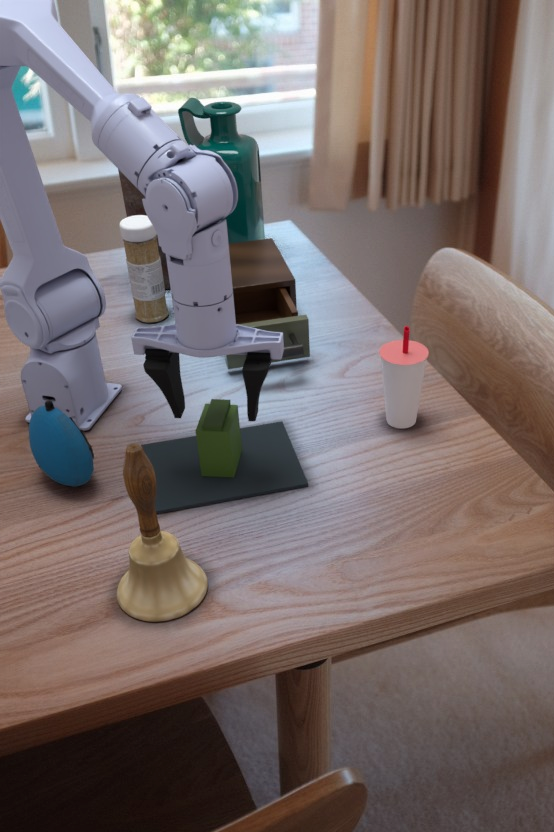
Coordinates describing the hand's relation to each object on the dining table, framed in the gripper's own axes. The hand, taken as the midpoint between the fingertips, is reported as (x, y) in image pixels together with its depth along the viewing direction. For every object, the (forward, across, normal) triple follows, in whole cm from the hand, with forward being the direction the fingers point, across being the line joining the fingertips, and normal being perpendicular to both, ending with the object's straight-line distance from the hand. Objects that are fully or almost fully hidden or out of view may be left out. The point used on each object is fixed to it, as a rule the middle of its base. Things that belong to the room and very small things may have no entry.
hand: (216, 414), depth 93 cm
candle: (+7, +17, -44) cm, 48 cm away
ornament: (+7, +16, +4) cm, 18 cm away
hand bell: (+7, +2, +19) cm, 20 cm away
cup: (+7, -19, -10) cm, 23 cm away
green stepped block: (+6, 0, 0) cm, 6 cm away
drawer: (+6, -1, -24) cm, 25 cm away
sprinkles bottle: (+7, +16, -33) cm, 37 cm away
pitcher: (+7, +9, -53) cm, 54 cm away
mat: (+7, 0, 0) cm, 7 cm away
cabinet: (+7, +4, -35) cm, 36 cm away
